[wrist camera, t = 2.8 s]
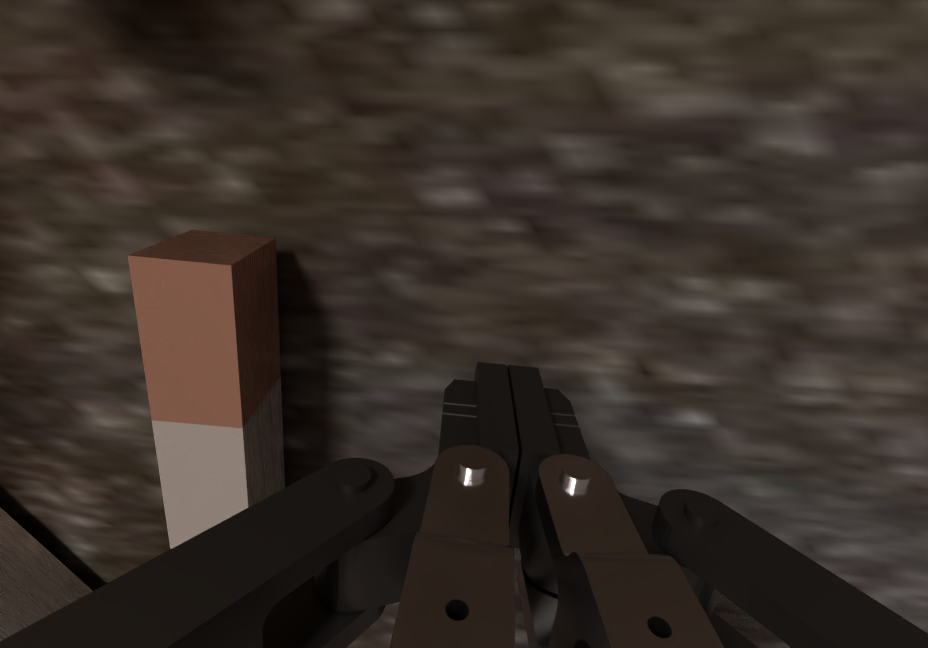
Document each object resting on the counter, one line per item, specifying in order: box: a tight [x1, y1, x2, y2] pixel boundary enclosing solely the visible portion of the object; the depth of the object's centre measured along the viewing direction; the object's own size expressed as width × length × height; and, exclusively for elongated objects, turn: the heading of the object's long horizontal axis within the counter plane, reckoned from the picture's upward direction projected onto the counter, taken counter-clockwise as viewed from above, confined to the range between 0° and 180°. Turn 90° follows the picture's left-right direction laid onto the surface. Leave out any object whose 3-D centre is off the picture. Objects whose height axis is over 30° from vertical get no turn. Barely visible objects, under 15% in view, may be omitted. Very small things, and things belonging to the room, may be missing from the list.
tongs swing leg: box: [128, 230, 285, 549], centre depth 17 cm, size 21×4×3 cm, turn 174°
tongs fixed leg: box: [0, 508, 92, 641], centre depth 19 cm, size 24×7×3 cm, turn 29°
